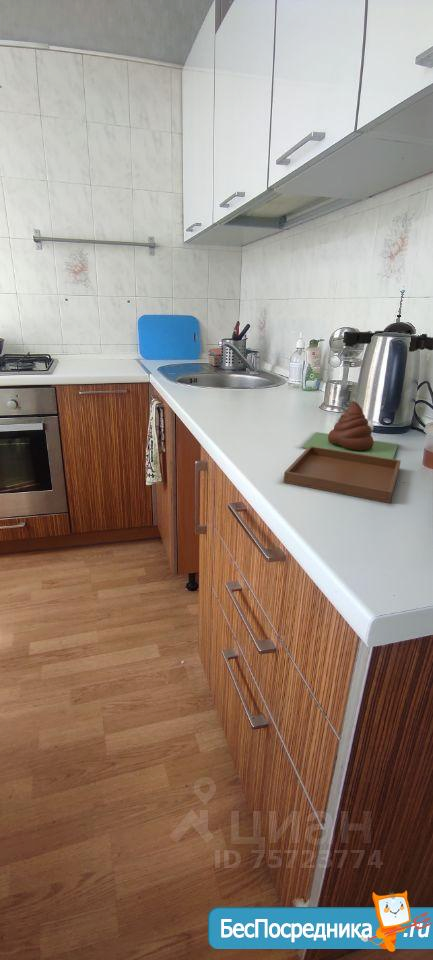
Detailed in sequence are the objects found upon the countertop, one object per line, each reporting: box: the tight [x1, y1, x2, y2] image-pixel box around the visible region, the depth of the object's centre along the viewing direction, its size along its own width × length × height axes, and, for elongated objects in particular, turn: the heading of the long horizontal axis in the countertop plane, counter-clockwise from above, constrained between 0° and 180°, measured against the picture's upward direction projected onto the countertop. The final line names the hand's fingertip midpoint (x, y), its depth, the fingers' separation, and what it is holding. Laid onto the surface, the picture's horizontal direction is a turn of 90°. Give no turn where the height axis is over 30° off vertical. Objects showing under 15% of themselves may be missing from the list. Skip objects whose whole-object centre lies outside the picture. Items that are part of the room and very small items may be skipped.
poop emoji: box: [328, 400, 375, 451], centre depth 98 cm, size 10×8×9 cm
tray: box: [283, 446, 402, 504], centre depth 83 cm, size 17×17×2 cm
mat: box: [301, 432, 399, 459], centre depth 100 cm, size 18×13×1 cm
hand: (378, 342), depth 100 cm, fingers open, 13 cm apart
